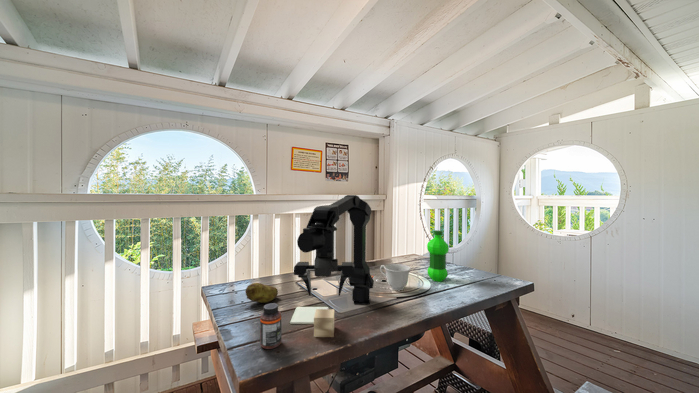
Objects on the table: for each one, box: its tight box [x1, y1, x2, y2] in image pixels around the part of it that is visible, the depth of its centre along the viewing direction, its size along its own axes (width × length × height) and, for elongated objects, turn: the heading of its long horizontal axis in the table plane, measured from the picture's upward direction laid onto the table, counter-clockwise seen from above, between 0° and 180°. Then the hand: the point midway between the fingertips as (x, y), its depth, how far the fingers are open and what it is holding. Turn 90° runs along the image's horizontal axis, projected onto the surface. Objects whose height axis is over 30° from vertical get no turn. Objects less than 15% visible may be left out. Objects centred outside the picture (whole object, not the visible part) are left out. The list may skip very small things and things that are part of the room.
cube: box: [313, 308, 335, 338], centre depth 85 cm, size 6×6×6 cm
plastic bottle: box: [426, 229, 450, 283], centre depth 137 cm, size 10×10×25 cm
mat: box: [289, 306, 329, 325], centre depth 96 cm, size 12×12×1 cm
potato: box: [245, 282, 279, 304], centre depth 108 cm, size 8×13×8 cm, turn 116°
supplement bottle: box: [259, 302, 282, 350], centre depth 78 cm, size 6×6×11 cm
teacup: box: [379, 263, 412, 292], centre depth 124 cm, size 12×15×10 cm
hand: (324, 295), depth 85 cm, fingers open, 9 cm apart
